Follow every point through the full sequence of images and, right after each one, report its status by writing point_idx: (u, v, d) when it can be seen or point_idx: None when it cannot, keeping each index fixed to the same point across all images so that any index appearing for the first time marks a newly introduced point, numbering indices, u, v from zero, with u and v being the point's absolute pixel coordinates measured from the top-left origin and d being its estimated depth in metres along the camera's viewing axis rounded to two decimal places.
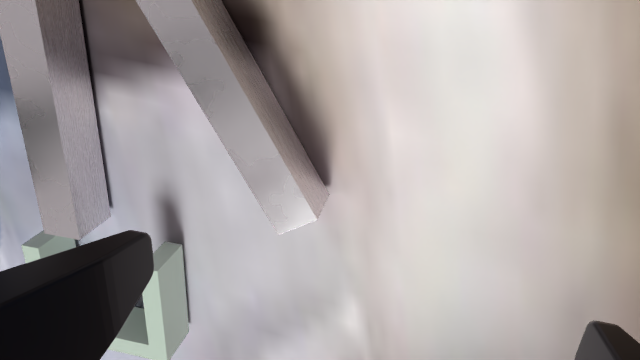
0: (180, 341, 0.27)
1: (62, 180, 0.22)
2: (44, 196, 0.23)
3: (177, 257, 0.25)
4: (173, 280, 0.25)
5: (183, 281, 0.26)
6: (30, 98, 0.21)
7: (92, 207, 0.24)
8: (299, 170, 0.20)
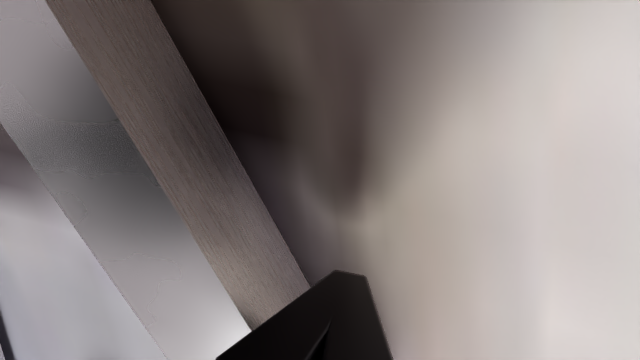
0: None
1: None
2: None
3: None
4: None
5: None
6: None
7: None
8: None
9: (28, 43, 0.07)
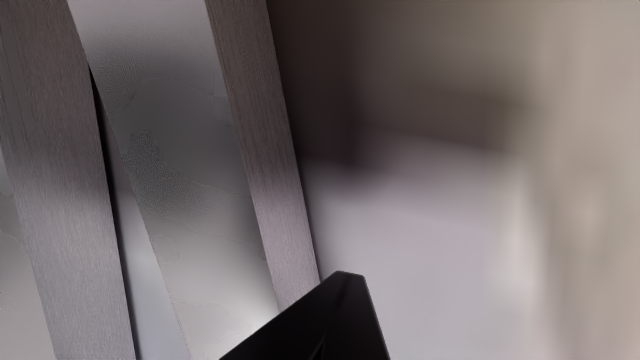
0: None
1: None
2: None
3: None
4: None
5: None
6: None
7: None
8: None
9: (186, 106, 0.07)
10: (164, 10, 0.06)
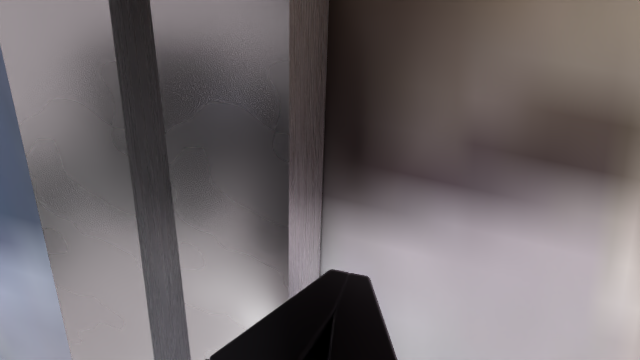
0: None
1: None
2: None
3: None
4: None
5: None
6: (92, 293, 0.09)
7: None
8: None
9: (246, 134, 0.07)
10: (246, 44, 0.06)
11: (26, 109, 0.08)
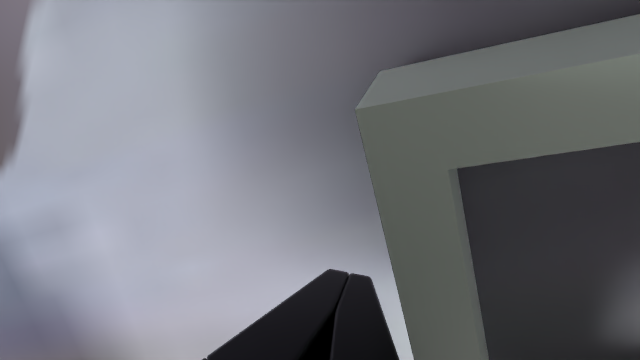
0: None
1: None
2: None
3: None
4: None
5: None
6: None
7: None
8: None
9: None
10: None
11: None
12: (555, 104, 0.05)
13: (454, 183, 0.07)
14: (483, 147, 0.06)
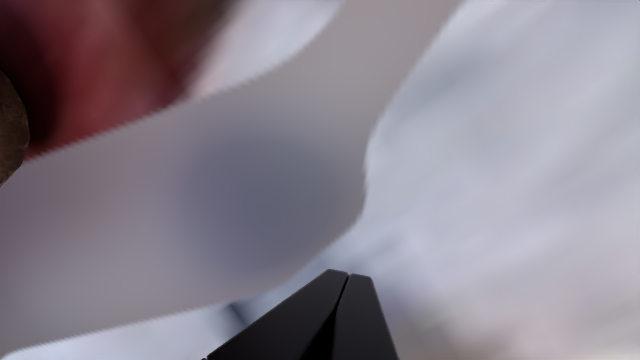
0: None
1: None
2: None
3: None
4: None
5: None
6: None
7: None
8: None
9: None
10: None
11: None
12: None
13: None
14: None
